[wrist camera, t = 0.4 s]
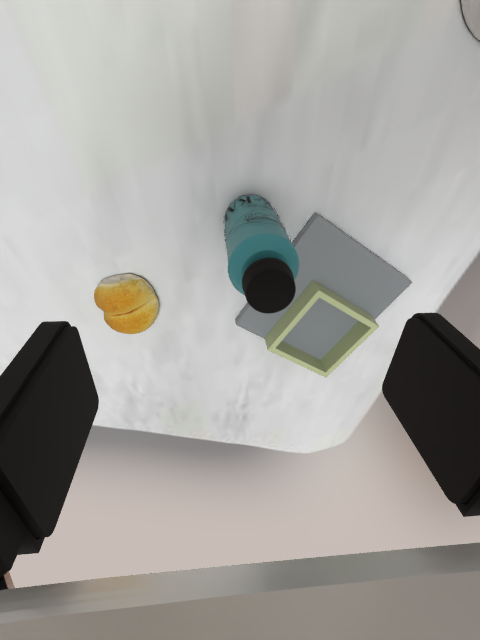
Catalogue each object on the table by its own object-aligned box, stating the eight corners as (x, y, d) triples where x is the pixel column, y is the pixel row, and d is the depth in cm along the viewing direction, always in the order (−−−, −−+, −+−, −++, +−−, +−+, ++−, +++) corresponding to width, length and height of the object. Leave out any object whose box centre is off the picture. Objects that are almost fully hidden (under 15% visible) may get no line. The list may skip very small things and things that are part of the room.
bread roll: (115, 330, 49) (108, 346, 46) (90, 278, 44) (80, 292, 41) (168, 320, 49) (164, 336, 45) (148, 267, 44) (143, 280, 40)
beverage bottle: (276, 236, 42) (317, 322, 26) (226, 245, 42) (235, 335, 26) (271, 184, 38) (316, 245, 22) (217, 194, 39) (221, 262, 22)
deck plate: (315, 211, 41) (325, 222, 37) (407, 277, 47) (423, 292, 43) (235, 319, 49) (237, 336, 45) (322, 362, 55) (330, 380, 52)
